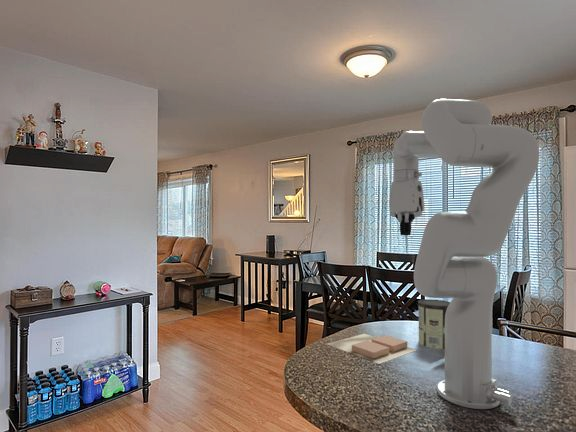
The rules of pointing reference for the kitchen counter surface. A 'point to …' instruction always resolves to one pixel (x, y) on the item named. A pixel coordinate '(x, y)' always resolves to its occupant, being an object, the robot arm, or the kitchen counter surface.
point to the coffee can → (432, 323)
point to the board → (347, 346)
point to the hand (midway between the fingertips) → (405, 235)
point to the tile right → (390, 342)
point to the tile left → (370, 349)
